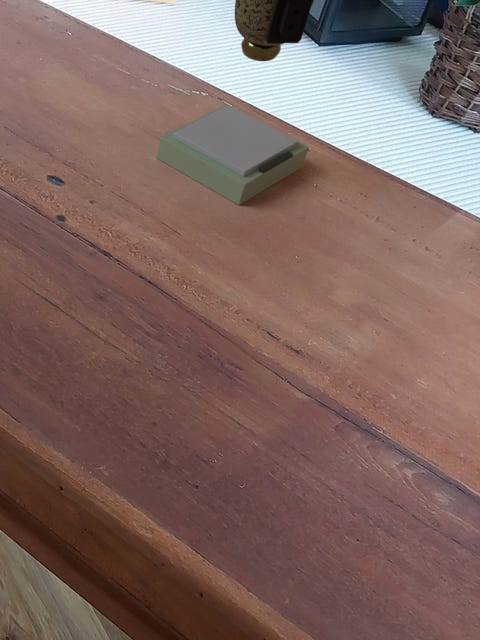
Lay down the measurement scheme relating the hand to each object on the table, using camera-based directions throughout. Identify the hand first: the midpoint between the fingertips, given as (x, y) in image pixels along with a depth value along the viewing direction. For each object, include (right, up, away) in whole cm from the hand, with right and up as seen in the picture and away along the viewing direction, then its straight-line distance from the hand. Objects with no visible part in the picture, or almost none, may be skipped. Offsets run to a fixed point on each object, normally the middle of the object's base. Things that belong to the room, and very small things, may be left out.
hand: (268, 19), depth 83 cm
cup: (0, -2, +3) cm, 3 cm away
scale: (-1, -9, +11) cm, 15 cm away
